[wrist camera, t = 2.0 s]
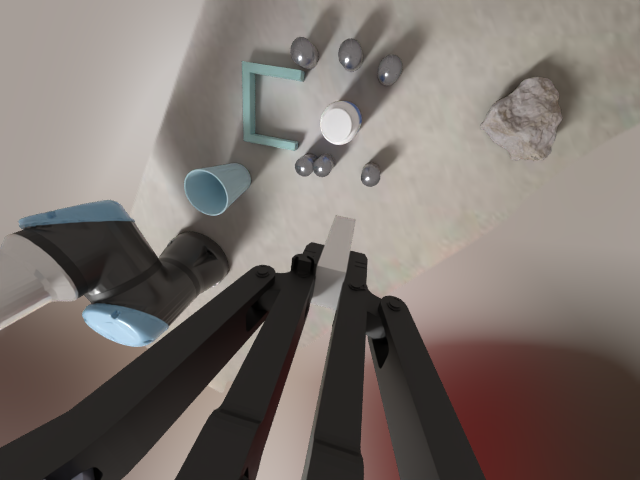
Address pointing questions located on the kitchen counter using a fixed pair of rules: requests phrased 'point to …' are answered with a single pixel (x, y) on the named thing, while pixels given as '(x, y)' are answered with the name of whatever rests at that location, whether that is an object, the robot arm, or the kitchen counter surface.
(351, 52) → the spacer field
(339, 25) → the kitchen counter surface
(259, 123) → the kitchen counter surface
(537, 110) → the stone
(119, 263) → the robot arm
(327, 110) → the pill bottle
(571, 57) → the kitchen counter surface
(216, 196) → the cup
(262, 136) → the teal bay
